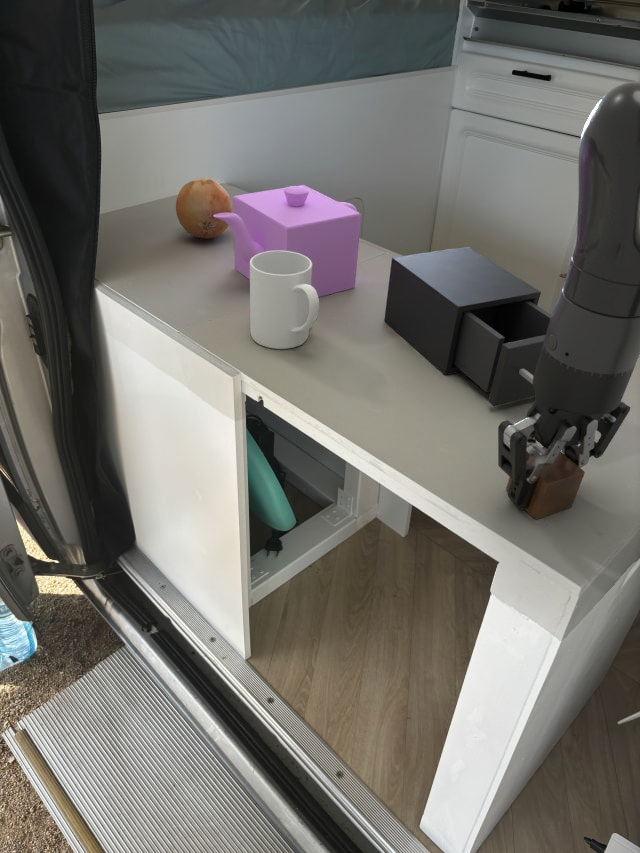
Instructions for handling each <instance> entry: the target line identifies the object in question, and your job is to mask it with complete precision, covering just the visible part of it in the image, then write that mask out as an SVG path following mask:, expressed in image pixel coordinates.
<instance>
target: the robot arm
mask: <svg viewBox="0 0 640 853" xmlns="http://www.w3.org/2000/svg"><path fill="white" fill-rule="evenodd" d="M577 169H578V170H577V171H578V201H577V220H576V221H577V225H576V231H577V232H576V242H575V246H574V250H573V253H572V256H571V259H570V263H569V265H568V270H567V273H566V276H565V279H564V283H563V287H562V289H561V292H560V295H559V297H558V300H557V301H556V304H555V306H554V308H553V310H552V313H551V315H552V316H551V319H550V322H549V326H548V329H547V332H546V336H545V339H544V342H543V346H542V349H541V353H540V356H539V359H538V363H537V366H536V370H535V373H534V376H533V387H534V392H535V396H534V401H533V404H532V405H531V407H530V408H529V410H528V411H527V413H526V417H525V418H524V419H522V420H519V421H518V422H516V423H514V424H513V423H512V422H511V421H510V420H508V419H505V420H503V421H501V422H500V424H499V425H498V426H497V441H498V442H497V444H498V445H497V446H498V447H497V449H498V450H497V456H498V460H497V462H498V464H497V466H498V467H499V468H500V469H501V470H502V471H503V472H504V473H505V474H506V476H508V478H509V477H510V478H511V479H512V481H511V484H510V487H509V491H508V492H507V497H508V498H509V499H510V501H511V502H512V503H513V504H514V505H515V506H516V507H517V508H518V509H519V510H525V508H528V507H529V505H530V502H531V499H532V496H533V493H534V490H535V487H536V484H537V479H538V478H539V476H540V474H541V473H542V471H543V470H544V468H545V466H546V465H547V464H553V463H554V461H555V459H556V458H557V456H558V455H559V453H560V451H561V452H562V453H563V454H564V455H565V456H567V457H568V458H569V459H570V460H571V461H572V462H574V463H575V464H576V465H577V466H578V467H580V468H581V469H582V468H584V467H585V466H587V465H588V463H589V461H590V458H591V457H593V458H595V459H599V458H600V457H602V456H603V455H604V454H605V452H606V450H607V449H608V447H609V445H610V444H611V442H612V440H613V439H614V437H615V435H616V434H617V432H618V431H619V429H620V428H621V426H622V425H623V423H624V421H625V420H626V418H627V416H628V414H629V413H630V411H631V407H630V406H629V405H628V404H626V402H624V401H622V400H623V398H624V395H625V393H626V390H627V387H628V385H629V383H630V380H631V377H632V375H633V373H634V370H635V368H636V364H637V362H638V359H639V357H640V80H634V81H627V82H624V83H621V84H618V85H617V86H615V87H613V88H612V89H610V90H608V91H607V93H606V94H604V96H602V97H601V99H600V100H599V101H598V102H597V103H596V105H595V106H594V108H593V109H592V111H591V112H590V114H589V116H588V118H587V120H586V121H585V123H584V126H583V129H582V133H581V136H580V142H579V147H578V168H577ZM596 431H597V432H598V433H599V434H600V438H599V439H598V440H597V442H596V441H595V440H596V439H595V438H596ZM537 442H538V443H539V444H540V445H541V446H542V447H545V448H547V450H546V451H545V450H543V449H542V447H541V446H540V445H539V444H538V443H537ZM530 456H532V457H533V458H534V459H535V461H534V463H533V465H532V467H531V466H530V465H528V464H527V463H526V462H527V461H528V459H529V457H530Z"/></svg>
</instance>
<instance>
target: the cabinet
mask: <svg viewBox="0 0 640 853" xmlns="http://www.w3.org/2000/svg"><path fill="white" fill-rule="evenodd" d="M389 271H390V272H389V279H388V288H387V295H386V303H385V311H384V319H383V320H384V322H385V323H386V324H387V325H388V326H389V327H390V328H392V330H394V331H395V332H396V333H397V334H398V335H399V336H400V337H401V338H403V339H404V340H405V341H406V343H408V344H409V345H410V346H412V347H413V348H414V349H415V350H416V351H417V352H419V353H420V355H422V356H423V357H424V358H425V359H426V360H427V361H428V362H429V363H431V365H433V366H434V367H435V368H436V369H437V370H438V371H439V372H440V373H442V374H443V376H448V375H453V374H458V373H461V372H462V371H461V370H460V369H459V368H458V367H456V366H455V365H454V364H453V363H452V362H453V357H454V352H455V347H456V342H457V337H458V332H459V327H460V323H461V318H462V313H463V312H465V311H470V310H475V309H481V308H486V307H491V306H497V305H502V304H507V303H513V302H518V301H524V300H529V301H531V302H532V303H534V304H535V305H537V306H538V305H539V300H540V298H541V293H542V291H540V290H539V289H537V288H536V287H534V286H532V285H531V284H529V283H528V282H526V281H525V280H523V279H521V278H520V277H518V276H516V275H515V274H513V273H512V272H510V271H508V270H506V269H505V268H503V267H502V266H500V265H498V264H497V263H495V262H494V261H492V260H490V259H488V258H487V257H485V256H484V255H482V254H480V253H479V252H477V251H476V250H475V249H472V248H471V247H469V246H464V247H457V248H449V249H444V250H443V249H442V250H436V251H428V252H421V253H420V252H419V253H414V254H413V253H412V254H408V255H407V254H406V255H401V256H400V255H399V256H392V257H391V264H390V270H389ZM462 373H463V372H462Z"/></svg>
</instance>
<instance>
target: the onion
mask: <svg viewBox="0 0 640 853" xmlns="http://www.w3.org/2000/svg"><path fill="white" fill-rule="evenodd" d="M175 213H176V216H177V219H178V222H179V224H180V225H181V227H182V228H183V229H184V230H185V231H186V232H187V233H188V234H190V235H191V236H194V237H196V238H197V239H213V238H216V237H218V236H220V235H222V233H224V232H225V231H226V230H227V229H228V228H229V227H230V226H229V224H227V223H226V222H225V221H223V220H221V219H219V218H216V217H214V216H213V215H215V214H218V213H233V201H232V199H231V196H230V194H229V193H228V191H227V190H226V189H225V188H224V187H223V186H222V185H221V184H220V183H218V182H217V181H216V180H214V179H212V178H207V177H200V178H197V179H194V180H191V181H189V182H187V183H185V184H184V185H183V186H182V187H181V188H180V190H179V192H178V194H177V196H176V200H175Z"/></svg>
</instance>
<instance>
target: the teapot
mask: <svg viewBox="0 0 640 853" xmlns="http://www.w3.org/2000/svg"><path fill="white" fill-rule="evenodd" d="M232 207H233V212H232V213H218V214H215V215H213V216H214V217H216V218H219V219H221V220H223V221H225V222H226V223H227V224H229V226H228V227H229V228H230V229H231V231H232V234H233V250H234V251H233V252H234V253H233V254H234V269H235V270H236V271H237V272H238V273H240V274H241V275H243V276H244V277H245V278H246V279H248V280H249V281H250V260H251V258H252V257H254V256H255V255H257V254H259V253H262V252H266V251H278V250H282V251H291V252H296V253H299V254H302V255H304V256H306V257H308V258H309V259H310V260H311V262H312V277H311V286H312V287H314V289H315V290H316V292H317V294H318V298H320V297H324V296H328V295H329V296H330V295H333V294H336V293H340V292H343V291H348V290H352V289H354V288H356V280H357V270H358V269H357V267H358V256H359V245H360V236H361V225H362V224H361V223H362V214H361V213H360V212H359V211H357V210H358V209H357V208H356V206H355V205H354V204H352V203H349V202H347V201H345V202H344V201H337V200H335V199H333V198H331V197H329V196H327V195H325V194H323V193H322V192H319V191H317V190H315V189H313V188H312V187H309V186H307V185H305V184H300V185H290V186H287V187H281V188H275V189H269V190H268V189H267V190H263V191H256V192H250V193H249V192H248V193H244V194H243V193H242V194H238V195H237V194H236V195H233V196H232Z"/></svg>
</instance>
